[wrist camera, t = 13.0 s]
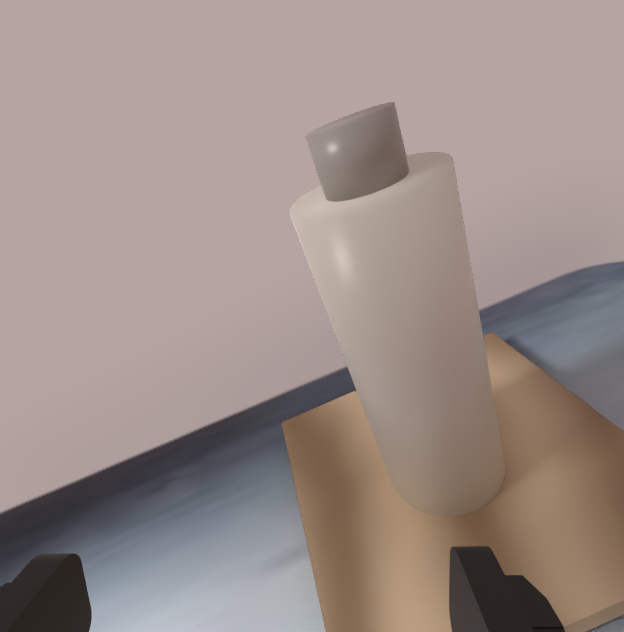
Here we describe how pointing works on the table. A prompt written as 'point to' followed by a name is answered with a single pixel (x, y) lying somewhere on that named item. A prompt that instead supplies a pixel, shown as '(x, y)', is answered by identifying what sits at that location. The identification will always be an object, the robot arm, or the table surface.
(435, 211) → the lotion bottle
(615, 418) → the table surface
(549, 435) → the oak board
